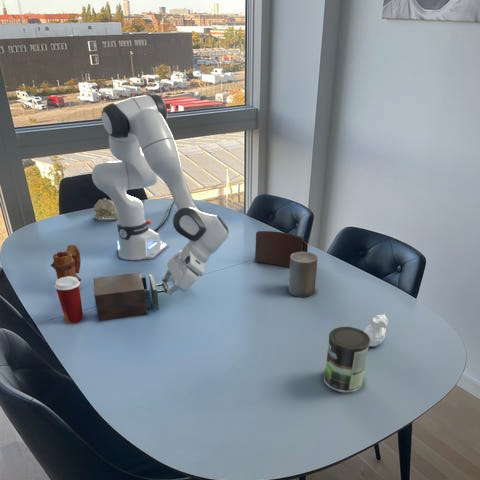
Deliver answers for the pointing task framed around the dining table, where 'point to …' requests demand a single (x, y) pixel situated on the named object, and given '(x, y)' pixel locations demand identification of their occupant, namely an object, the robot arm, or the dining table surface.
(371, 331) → the bust
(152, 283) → the drawer
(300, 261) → the pillar candle
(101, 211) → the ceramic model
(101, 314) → the cabinet
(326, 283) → the dining table surface
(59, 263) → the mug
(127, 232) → the robot arm
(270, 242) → the letter holder
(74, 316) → the paper cup
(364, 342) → the coffee can
